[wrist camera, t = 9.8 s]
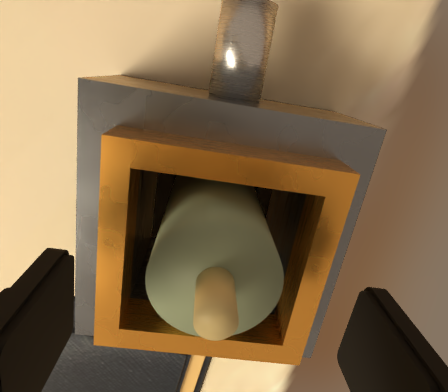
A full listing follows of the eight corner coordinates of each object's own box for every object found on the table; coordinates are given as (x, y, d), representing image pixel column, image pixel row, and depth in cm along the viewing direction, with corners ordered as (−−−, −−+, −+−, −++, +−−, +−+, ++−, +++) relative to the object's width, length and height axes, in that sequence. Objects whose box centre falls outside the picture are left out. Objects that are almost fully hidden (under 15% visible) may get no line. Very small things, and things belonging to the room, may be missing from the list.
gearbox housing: (124, -11, 16) (52, -77, 9) (356, 34, 18) (463, 9, 10) (109, 266, 22) (57, 368, 15) (286, 287, 23) (322, 392, 16)
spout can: (176, 149, 19) (139, 241, 9) (261, 162, 20) (315, 262, 10) (168, 226, 21) (128, 376, 11) (245, 236, 22) (277, 388, 11)
